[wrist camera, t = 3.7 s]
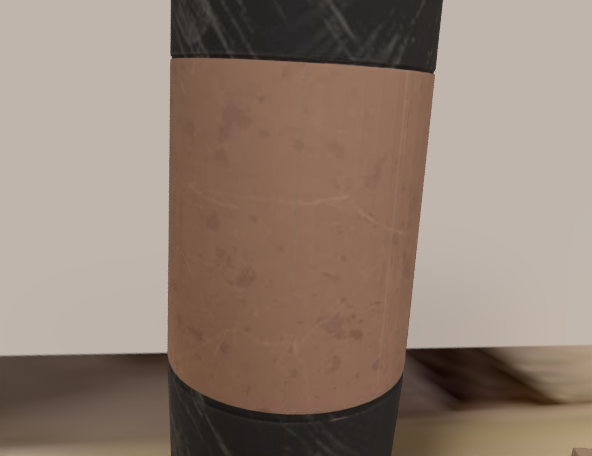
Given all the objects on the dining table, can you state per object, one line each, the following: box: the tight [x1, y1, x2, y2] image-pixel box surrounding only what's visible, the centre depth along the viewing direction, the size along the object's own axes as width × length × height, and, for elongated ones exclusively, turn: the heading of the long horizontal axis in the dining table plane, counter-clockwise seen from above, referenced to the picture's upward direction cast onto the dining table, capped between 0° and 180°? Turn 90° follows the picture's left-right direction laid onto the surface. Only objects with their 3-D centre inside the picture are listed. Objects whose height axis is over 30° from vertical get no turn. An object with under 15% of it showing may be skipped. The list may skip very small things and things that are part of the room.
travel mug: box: [168, 0, 443, 456], centre depth 18 cm, size 8×8×20 cm
